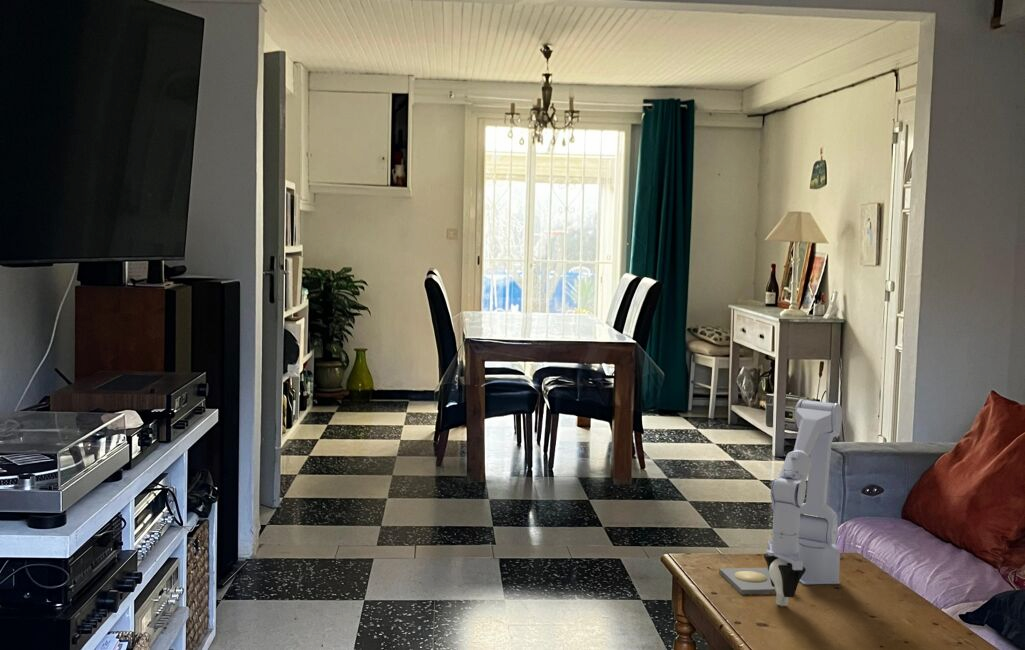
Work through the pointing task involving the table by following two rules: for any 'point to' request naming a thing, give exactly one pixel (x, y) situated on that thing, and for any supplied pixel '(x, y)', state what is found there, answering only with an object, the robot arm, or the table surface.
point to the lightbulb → (778, 581)
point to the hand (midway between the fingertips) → (782, 591)
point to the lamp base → (749, 580)
